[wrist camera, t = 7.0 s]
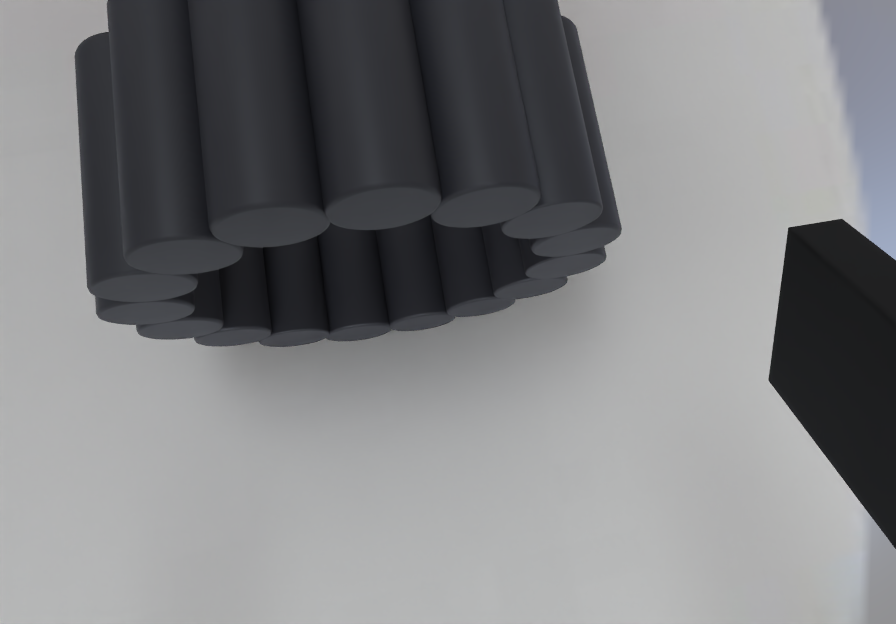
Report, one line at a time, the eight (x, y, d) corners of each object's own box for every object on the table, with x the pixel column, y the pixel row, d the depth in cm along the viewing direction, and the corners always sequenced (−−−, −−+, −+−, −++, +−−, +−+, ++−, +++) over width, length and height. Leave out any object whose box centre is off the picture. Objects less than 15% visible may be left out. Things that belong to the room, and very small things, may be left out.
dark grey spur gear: (210, 365, 21) (-55, 258, 11) (196, 212, 22) (-57, -26, 12) (578, 304, 21) (684, 137, 11) (547, 154, 22) (614, -136, 12)
